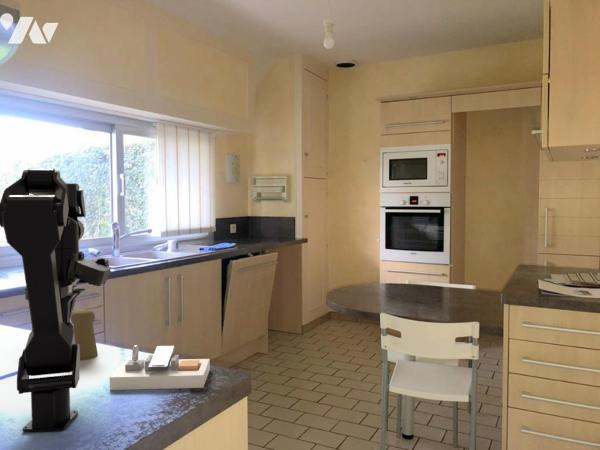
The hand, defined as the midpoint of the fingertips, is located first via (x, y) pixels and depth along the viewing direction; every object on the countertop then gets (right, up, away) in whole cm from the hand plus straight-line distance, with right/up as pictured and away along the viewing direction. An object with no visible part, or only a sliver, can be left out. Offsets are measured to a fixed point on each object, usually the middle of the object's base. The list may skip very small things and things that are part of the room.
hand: (64, 327), depth 97 cm
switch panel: (+18, -12, +5) cm, 22 cm away
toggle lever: (+12, -8, +4) cm, 15 cm away
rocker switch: (+18, -7, +4) cm, 20 cm away
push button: (+23, -11, +5) cm, 26 cm away
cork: (-5, -11, +20) cm, 24 cm away
